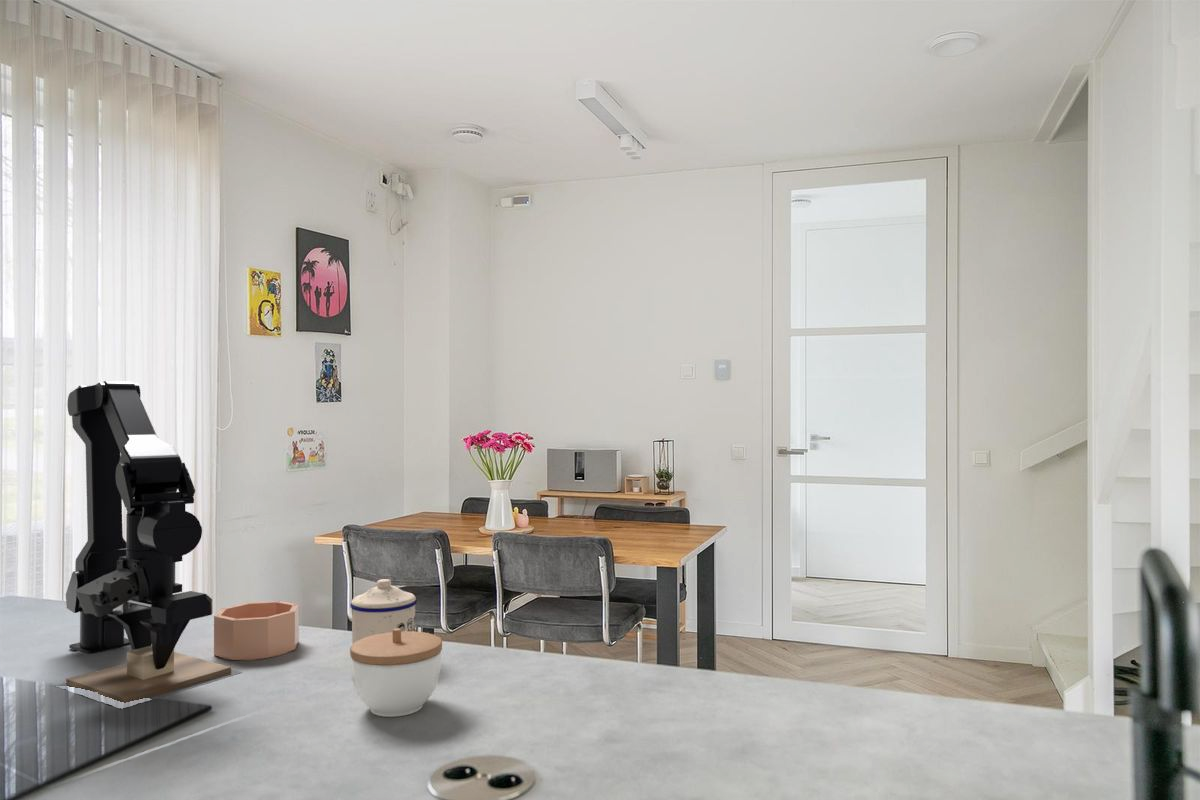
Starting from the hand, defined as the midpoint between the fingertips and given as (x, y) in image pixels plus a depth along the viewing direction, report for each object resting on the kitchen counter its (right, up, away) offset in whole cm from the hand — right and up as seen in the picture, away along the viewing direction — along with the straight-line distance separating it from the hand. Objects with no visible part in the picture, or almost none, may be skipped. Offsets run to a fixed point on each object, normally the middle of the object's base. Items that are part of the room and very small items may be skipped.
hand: (150, 665), depth 107 cm
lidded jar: (+35, -2, -10) cm, 36 cm away
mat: (0, -2, 0) cm, 2 cm away
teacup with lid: (+29, -2, +9) cm, 31 cm away
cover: (0, -2, 0) cm, 2 cm away
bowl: (+8, -2, +14) cm, 16 cm away
